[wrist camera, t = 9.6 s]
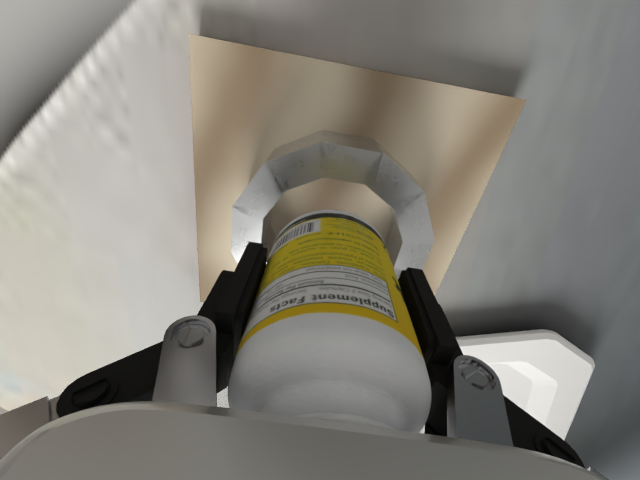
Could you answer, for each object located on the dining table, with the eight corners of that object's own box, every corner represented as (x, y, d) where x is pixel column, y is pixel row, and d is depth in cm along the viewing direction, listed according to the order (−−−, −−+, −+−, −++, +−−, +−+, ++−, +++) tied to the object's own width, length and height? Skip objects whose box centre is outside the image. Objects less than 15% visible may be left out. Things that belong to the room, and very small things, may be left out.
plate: (590, 307, 22) (615, 329, 20) (533, 469, 34) (545, 493, 32) (270, 338, 25) (265, 360, 23) (321, 477, 37) (320, 499, 35)
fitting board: (513, 98, 15) (526, 100, 14) (413, 322, 23) (416, 334, 22) (198, 36, 14) (188, 33, 13) (206, 290, 22) (200, 301, 21)
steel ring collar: (442, 151, 15) (465, 167, 13) (388, 297, 20) (397, 330, 18) (251, 116, 15) (233, 125, 12) (243, 274, 20) (230, 305, 17)
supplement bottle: (368, 311, 15) (411, 607, 7) (265, 290, 15) (176, 577, 6) (405, 220, 13) (551, 518, 4) (281, 192, 12) (167, 460, 4)
